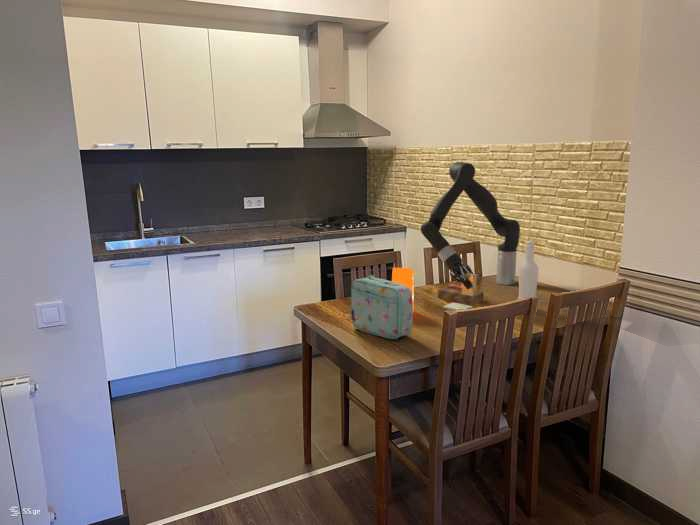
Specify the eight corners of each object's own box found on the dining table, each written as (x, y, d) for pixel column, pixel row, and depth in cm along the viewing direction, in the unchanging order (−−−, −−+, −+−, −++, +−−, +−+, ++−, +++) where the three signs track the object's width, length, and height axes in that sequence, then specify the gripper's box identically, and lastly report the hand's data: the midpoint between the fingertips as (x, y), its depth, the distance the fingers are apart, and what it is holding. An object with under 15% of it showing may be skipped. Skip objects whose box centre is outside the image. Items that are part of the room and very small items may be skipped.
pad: (443, 307, 220) (443, 306, 220) (452, 303, 226) (452, 302, 226) (463, 312, 213) (463, 310, 213) (472, 307, 219) (472, 306, 219)
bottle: (532, 313, 209) (537, 243, 203) (513, 310, 214) (517, 241, 208) (538, 308, 216) (543, 240, 209) (520, 305, 220) (523, 238, 214)
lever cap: (461, 294, 226) (462, 273, 224) (465, 292, 228) (465, 272, 226) (472, 296, 222) (473, 275, 220) (475, 294, 225) (476, 274, 223)
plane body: (437, 297, 235) (437, 286, 234) (449, 293, 242) (449, 281, 241) (472, 305, 223) (472, 292, 222) (483, 300, 230) (483, 287, 229)
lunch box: (345, 327, 197) (344, 275, 193) (363, 321, 204) (363, 270, 200) (397, 344, 179) (397, 287, 174) (415, 337, 186) (415, 281, 181)
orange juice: (412, 316, 209) (412, 270, 205) (391, 315, 211) (391, 269, 207) (413, 310, 217) (414, 266, 212) (393, 310, 218) (393, 265, 214)
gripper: (446, 255, 221) (470, 285, 216) (463, 250, 232) (486, 279, 226) (436, 265, 226) (459, 295, 221) (453, 259, 236) (475, 288, 231)
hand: (472, 286), depth 223 cm, fingers open, 5 cm apart
